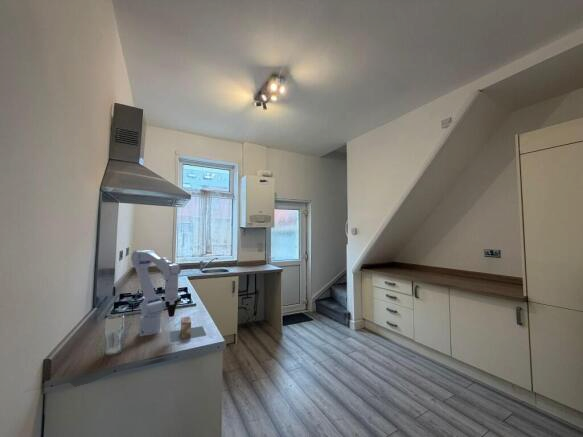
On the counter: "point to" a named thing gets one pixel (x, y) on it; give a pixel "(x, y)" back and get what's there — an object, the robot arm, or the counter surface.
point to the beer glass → (114, 333)
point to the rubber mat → (194, 333)
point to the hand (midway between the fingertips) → (171, 316)
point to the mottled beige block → (185, 327)
